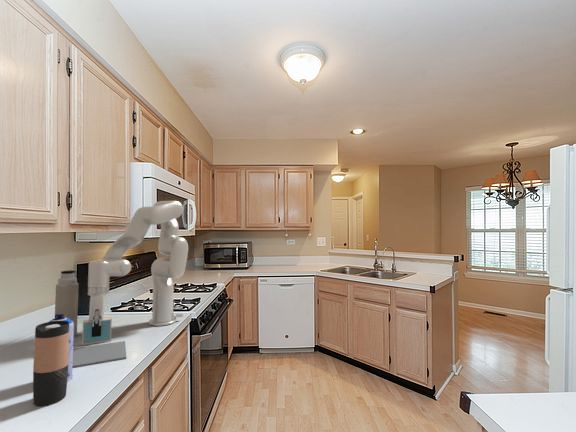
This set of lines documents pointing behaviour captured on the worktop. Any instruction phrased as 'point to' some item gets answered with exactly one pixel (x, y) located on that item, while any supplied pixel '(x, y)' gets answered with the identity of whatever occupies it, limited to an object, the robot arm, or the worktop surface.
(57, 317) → the aerosol can
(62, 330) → the travel mug
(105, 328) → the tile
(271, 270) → the worktop surface
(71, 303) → the thermos bottle
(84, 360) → the mat
